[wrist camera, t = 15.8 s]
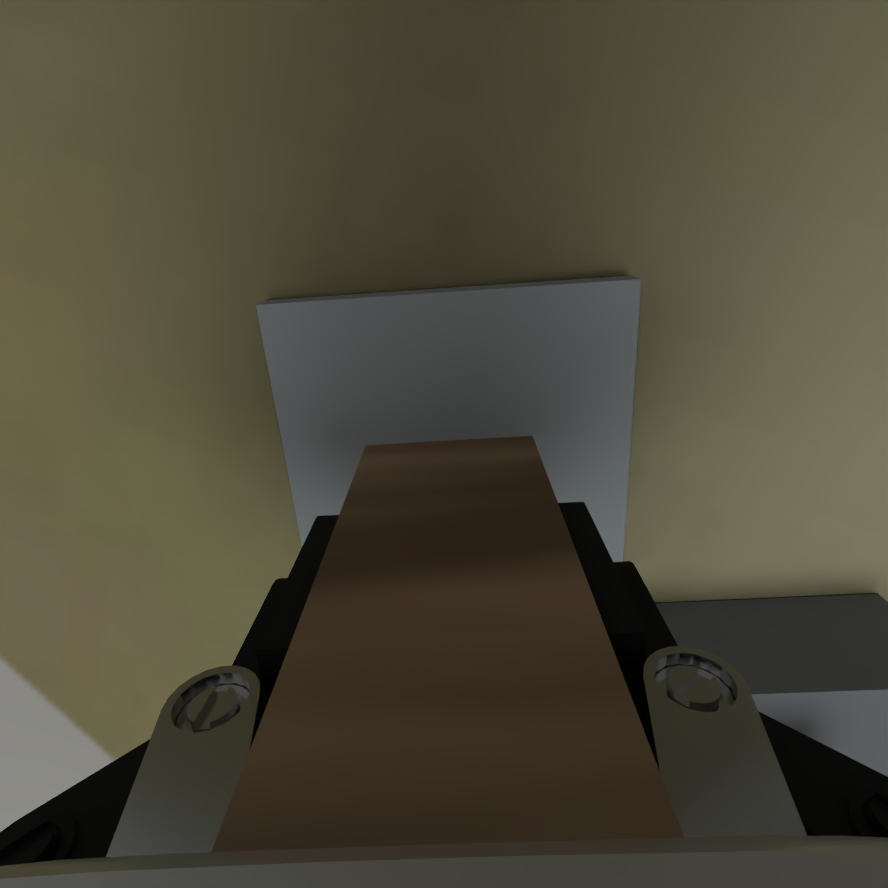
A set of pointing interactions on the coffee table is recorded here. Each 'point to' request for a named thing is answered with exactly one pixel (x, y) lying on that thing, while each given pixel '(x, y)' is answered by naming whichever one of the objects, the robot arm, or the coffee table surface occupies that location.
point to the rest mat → (459, 383)
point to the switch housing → (804, 662)
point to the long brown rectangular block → (448, 674)
